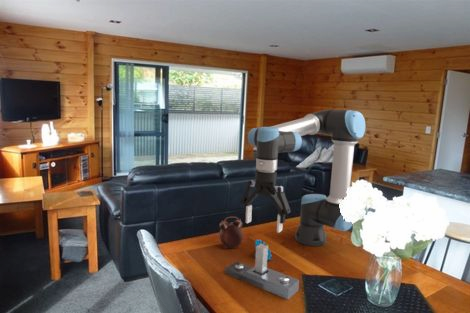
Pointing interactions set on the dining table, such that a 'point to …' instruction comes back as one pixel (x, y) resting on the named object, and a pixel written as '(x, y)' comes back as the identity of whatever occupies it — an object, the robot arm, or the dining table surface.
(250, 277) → the grey studded bar
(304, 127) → the robot arm
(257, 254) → the steel pin
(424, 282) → the dining table surface
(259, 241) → the blue bumpy figurine
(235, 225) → the alarm clock
